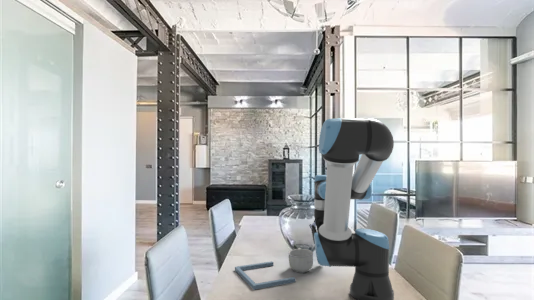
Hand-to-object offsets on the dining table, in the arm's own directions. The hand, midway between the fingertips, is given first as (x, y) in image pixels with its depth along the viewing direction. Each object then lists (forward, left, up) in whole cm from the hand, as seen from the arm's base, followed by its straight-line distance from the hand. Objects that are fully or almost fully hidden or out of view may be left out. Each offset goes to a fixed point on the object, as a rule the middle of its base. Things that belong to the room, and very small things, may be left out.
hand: (322, 260), depth 146 cm
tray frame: (-1, +29, -2) cm, 29 cm away
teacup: (0, +11, -3) cm, 12 cm away
